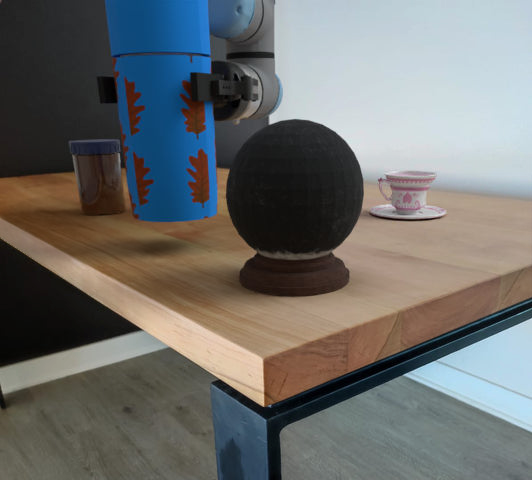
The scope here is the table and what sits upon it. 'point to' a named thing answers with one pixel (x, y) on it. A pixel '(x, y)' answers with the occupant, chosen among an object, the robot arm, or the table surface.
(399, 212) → the teacup
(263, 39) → the robot arm
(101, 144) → the lid
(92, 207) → the jar
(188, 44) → the thermos
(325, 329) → the table surface
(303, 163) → the black crystal ball
